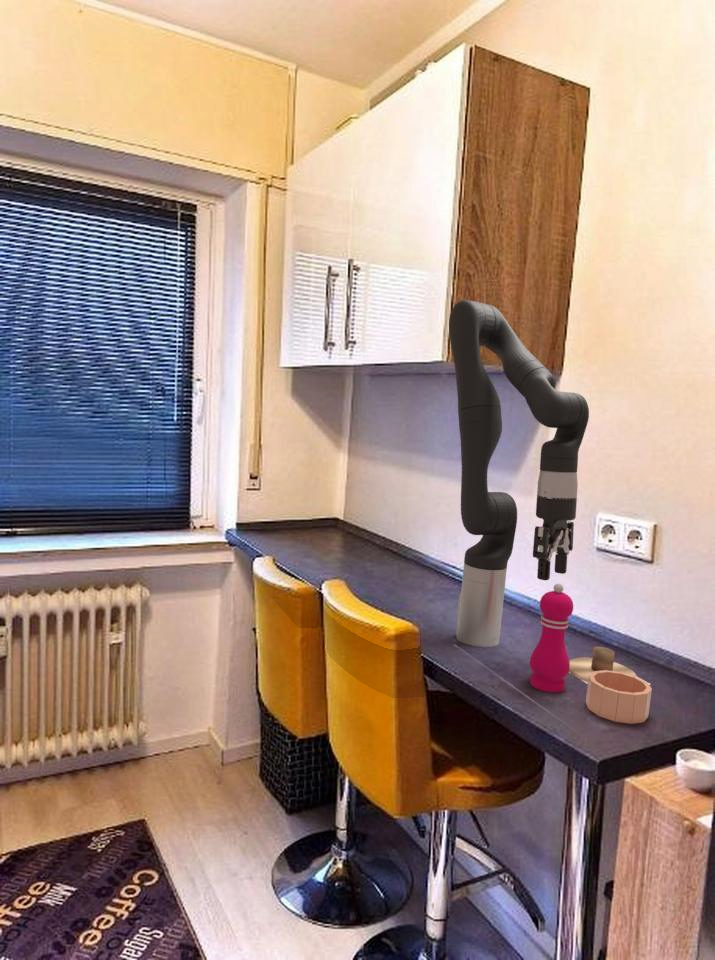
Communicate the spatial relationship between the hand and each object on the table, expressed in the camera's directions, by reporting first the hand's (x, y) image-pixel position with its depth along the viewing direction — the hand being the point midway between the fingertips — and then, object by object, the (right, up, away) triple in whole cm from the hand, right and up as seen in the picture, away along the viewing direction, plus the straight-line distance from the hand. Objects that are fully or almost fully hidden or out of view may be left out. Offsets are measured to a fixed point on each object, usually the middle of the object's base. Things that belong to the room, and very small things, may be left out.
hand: (551, 576), depth 135 cm
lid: (+10, -20, +1) cm, 22 cm away
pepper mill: (-3, -20, -6) cm, 21 cm away
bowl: (+7, -22, -15) cm, 27 cm away
